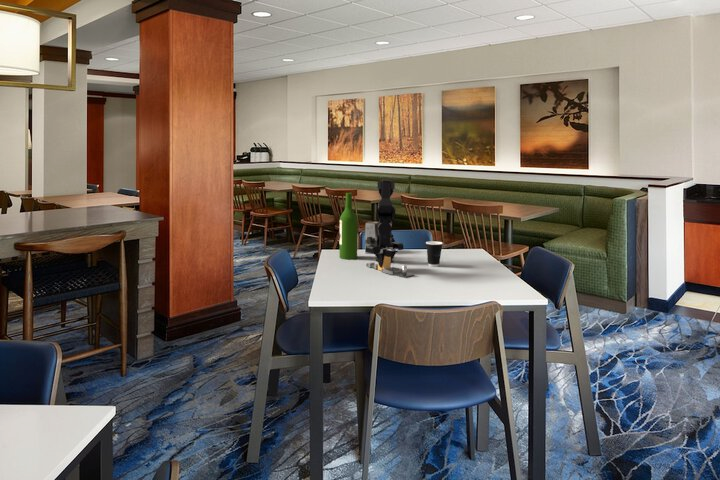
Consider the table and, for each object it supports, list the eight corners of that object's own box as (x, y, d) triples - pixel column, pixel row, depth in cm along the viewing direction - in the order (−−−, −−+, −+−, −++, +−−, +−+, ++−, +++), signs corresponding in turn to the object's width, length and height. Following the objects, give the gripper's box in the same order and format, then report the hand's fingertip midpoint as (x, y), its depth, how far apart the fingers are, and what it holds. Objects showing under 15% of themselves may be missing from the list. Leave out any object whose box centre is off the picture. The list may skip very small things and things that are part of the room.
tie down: (362, 266, 239) (362, 254, 238) (373, 264, 243) (373, 252, 242) (392, 274, 224) (393, 260, 223) (404, 272, 228) (404, 259, 227)
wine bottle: (337, 256, 264) (338, 192, 259) (354, 255, 266) (355, 192, 261) (341, 259, 256) (341, 193, 250) (359, 259, 258) (359, 193, 252)
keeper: (404, 273, 228) (404, 263, 227) (414, 275, 223) (414, 265, 223) (394, 275, 224) (394, 264, 223) (404, 277, 219) (404, 267, 219)
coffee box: (376, 253, 272) (377, 223, 269) (364, 253, 273) (365, 223, 270) (379, 250, 281) (380, 221, 278) (367, 250, 282) (368, 220, 279)
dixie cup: (439, 267, 240) (440, 244, 238) (423, 266, 243) (423, 243, 241) (443, 264, 247) (444, 242, 245) (427, 263, 250) (428, 240, 248)
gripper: (387, 228, 242) (386, 261, 245) (357, 231, 230) (356, 266, 232) (404, 231, 234) (403, 265, 236) (374, 235, 222) (373, 270, 224)
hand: (384, 266), depth 233 cm, fingers closed on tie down, 4 cm apart
